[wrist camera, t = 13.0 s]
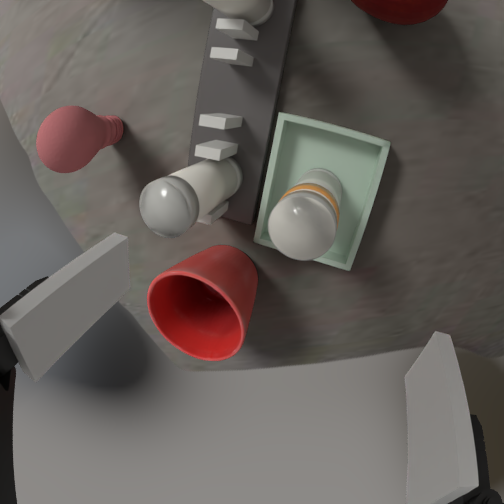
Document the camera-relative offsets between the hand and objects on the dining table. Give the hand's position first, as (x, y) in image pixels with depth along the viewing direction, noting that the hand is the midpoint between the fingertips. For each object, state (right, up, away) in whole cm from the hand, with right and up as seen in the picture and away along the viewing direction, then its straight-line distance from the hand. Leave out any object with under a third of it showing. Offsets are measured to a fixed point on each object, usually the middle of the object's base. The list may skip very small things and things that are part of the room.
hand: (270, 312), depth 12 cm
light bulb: (-17, +18, +22) cm, 33 cm away
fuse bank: (-2, +18, +16) cm, 24 cm away
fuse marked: (+6, +8, +18) cm, 20 cm away
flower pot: (-4, 0, +26) cm, 26 cm away
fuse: (-4, +10, +19) cm, 22 cm away
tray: (+6, +9, +18) cm, 21 cm away
